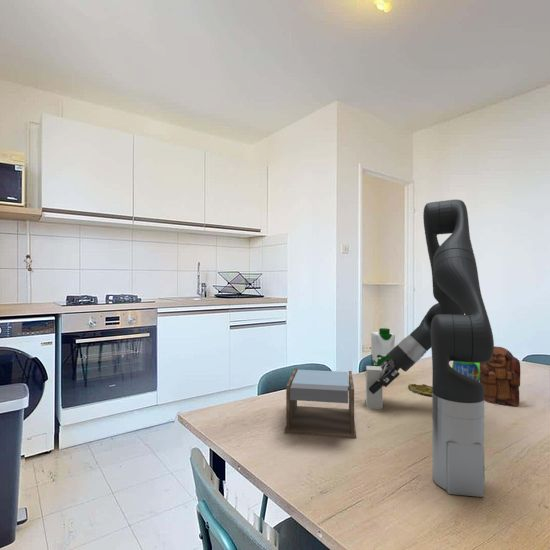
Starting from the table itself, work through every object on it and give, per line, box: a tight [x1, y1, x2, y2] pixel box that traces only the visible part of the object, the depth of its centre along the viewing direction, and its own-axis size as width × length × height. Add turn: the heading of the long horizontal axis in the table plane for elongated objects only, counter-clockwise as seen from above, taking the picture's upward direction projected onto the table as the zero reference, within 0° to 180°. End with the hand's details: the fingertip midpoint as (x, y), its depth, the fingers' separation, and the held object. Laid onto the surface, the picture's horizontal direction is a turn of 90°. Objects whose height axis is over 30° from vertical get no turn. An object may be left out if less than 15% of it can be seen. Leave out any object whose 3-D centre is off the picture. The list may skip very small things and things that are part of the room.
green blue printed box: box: [451, 361, 481, 382], centre depth 139 cm, size 16×10×10 cm
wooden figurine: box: [479, 345, 521, 407], centre depth 119 cm, size 12×6×18 cm, turn 52°
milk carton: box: [370, 327, 396, 369], centre depth 149 cm, size 9×9×20 cm
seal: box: [407, 383, 432, 398], centre depth 129 cm, size 9×5×15 cm
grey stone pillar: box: [365, 365, 384, 410], centre depth 115 cm, size 5×5×12 cm
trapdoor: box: [290, 369, 349, 404], centre depth 99 cm, size 22×15×3 cm
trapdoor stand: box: [284, 367, 357, 439], centre depth 102 cm, size 18×18×12 cm
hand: (369, 387), depth 115 cm, fingers open, 8 cm apart
